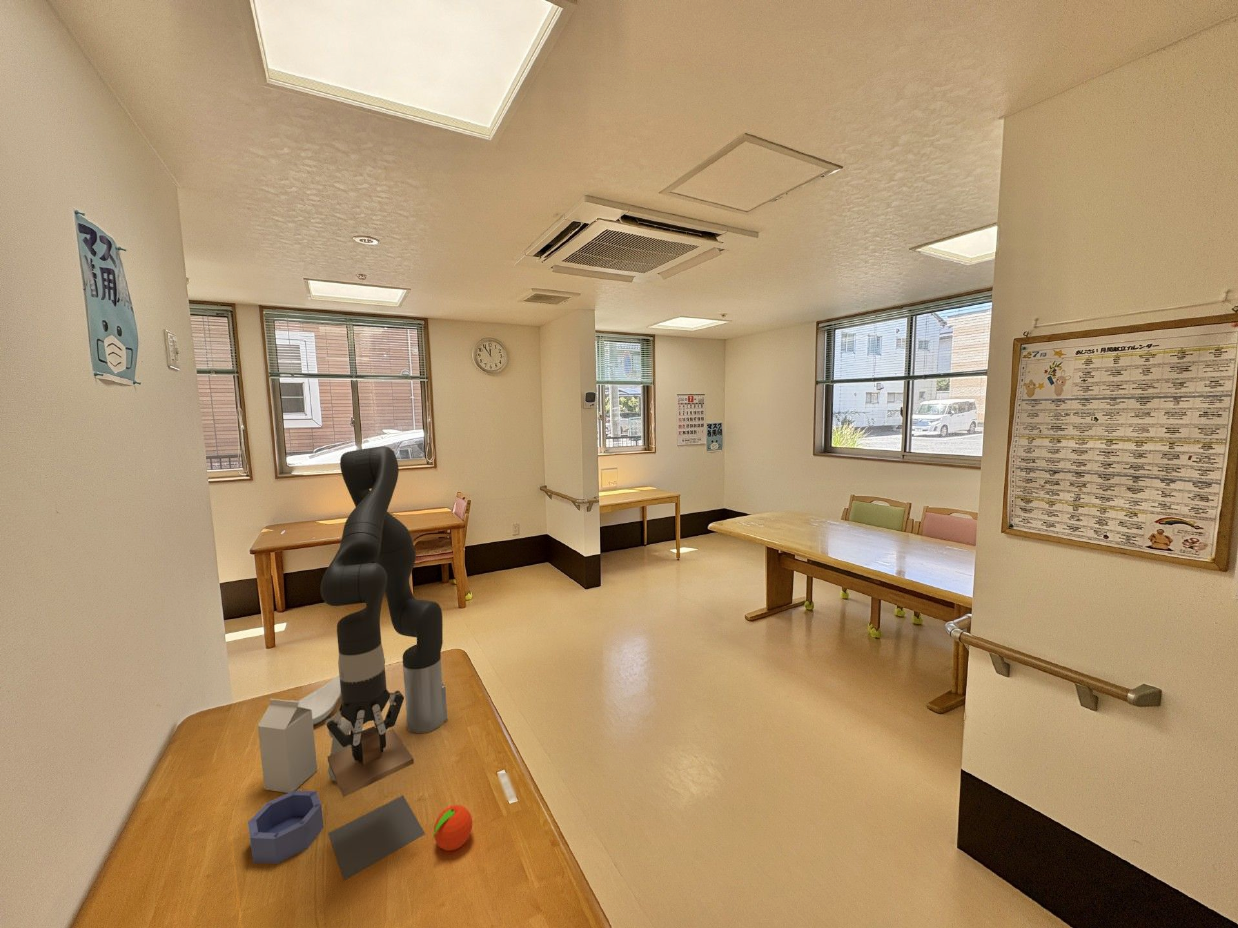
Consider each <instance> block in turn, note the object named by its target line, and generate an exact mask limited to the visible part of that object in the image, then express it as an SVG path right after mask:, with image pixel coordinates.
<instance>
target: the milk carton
mask: <svg viewBox="0 0 1238 928" xmlns="http://www.w3.org/2000/svg"><path fill="white" fill-rule="evenodd" d="M298 704H299V700H293V699H290V700H286V699H284V700H283V699H277V698H270V699H269V705H268V707H267V709H266V710H265V713H264V714H263V716H262V718H261V719H260V721H259V723H258V725H257V732H258V740H259V750H260V759H261V768H262V770H261V771H262V777H263V787H264V790H267V791H271V792H272V791H273V792H278V793H285V794H288V793H290V792H292V791H294V790H298V788H299V787H301V785H303V784H304V783H305V782H306V781H307V780H308V779H310V777H312V775H314V774H315V773H316V772H317V771H318V761H317V752H316V743H315V733H314V730H315V729H314V725H313V718H312V710H310V709H306V708H302V707H298Z"/></svg>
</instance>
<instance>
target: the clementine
mask: <svg viewBox="0 0 1238 928" xmlns="http://www.w3.org/2000/svg"><path fill="white" fill-rule="evenodd" d="M472 829H473V817H472V814H471V813H470V811H469V809H467V808H466V806H463V805H461V804H454V805H450V806H448V807H446V808H444V809H443V810H442V811H441V813H440V814H439V815H438V817H437V819H436V821H435V823H434V827H433V836H432V841H435V843H436V844H437V846H438V848H441V849H443V850H444V851H448V852H450V851H455V850H458V849H460V848H461V847H463V846H464V845H465V843H466V842H467V841H468V840H469V838H470V835H471V833H472Z"/></svg>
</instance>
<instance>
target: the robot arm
mask: <svg viewBox="0 0 1238 928" xmlns="http://www.w3.org/2000/svg"><path fill="white" fill-rule="evenodd" d="M339 465H340V467H339V468H340V472H341V476H342V479H343V482H344V484H345V486H346V488H347V492H348V493H349V496H350V497H351V499H352V502H353V503H354V509H353V510H352V511H351V512H350V513H349V515H348V517H347V518H346V521H345V523H344V526H343V530H342V534H341V540H340V545H339V549H338V550H337V552H336V553H335V556H334V557H333V559H332V561H331V562H330V564H329V566H328V567H327V569H326V570H325V573H324V574H323V577H322V579H321V583H320V590H319V592H320V596H321V598H322V599H323V602H324V603H326V604H327V605H328V606H331V607H340V606H341V607H342V606H349V605H359V604H365V607H364V608H363V609H360V610H358V611H355V612H353V613H349V614H347V615H345V616H343V617H342V618H340V619H339V620H338V622H337V624H336V636H337V646H338V647H337V648H338V661H337V662H338V663H337V665H338V674H339V675H338V676H339V678H340V688H341V694H340V696H341V697H340V698H341V699H340V700H341V703H340V707H339V708H338V709H339V710H338V712H336V713H335V714H334V715H332V716H327V717H326V718H325V719H324V724H325V726H326V728H327V730H328V732H329V731H330V732H331V733H332V734H333V736H334V737H335V738H336V739H337V740H338V742H339V743H340V744H341V745H342V747H346V746H348V745H351V748H352V756H353V758H354V760H355V761H357V760H358V762H362V761H363V756H362V745H361V742H360V738H361V732H362V731H363V725H365V724H367V723H368V722H372V721H373V724H374V726H375V728H376V729H377V731H378V732H379V739H380V751H381V753H382V752H383V748H385V747H386V734H385V733H386V731H388V729H389V728H393V727H395V726H396V723H397V720H398V717H399V714H400V711H401V709H402V706H403V703H404V700H405V712H406V724H407V725H406V727H407V730H408V731H409V732H410V733H413V734H424V733H429V732H431V731H434V730H436V729H438V728H439V727H440V726H441V725H442V724H443V723H444V722H446V721H448V706H447V705H448V704H447V689H446V685H445V684H444V682H443V669H442V656H441V655H442V653H441V652H442V647H443V643H444V641H443V637H444V636H443V635H444V633H443V628H444V627H443V625H444V624H443V611H442V607H441V606H440V604H439V603H438V602H436V601H432V600H424V599H417V598H415V596H414V594H413V592H412V588H411V584H410V578H411V574H412V572H413V569H414V566H415V563H416V558H417V553H416V549H415V545H414V542H413V539H412V536H411V533H410V530H409V529H408V527H407V526H406V525H405V524H403V522H402V521H400V520H399V519H398V518H396V517H395V516H394V515H392V513H390V512H388V509H389V506H390V503H391V501H392V499H393V495H394V493H395V489H396V486H397V482H398V479H399V471H400V470H399V463H398V458H397V456H396V454H395V452H394V450H393V449H392V448H391V447H389V446H374V447H367V448H362V449H361V448H360V449H356V450H350V451H347V452H344V453H343V454H342V455H341V457H340V459H339ZM384 596H385V597H386V601H387V607H388V611H389V616H390V617H389V618H390V621H391V625H392V627H393V630H395V632H396V633H397V634H399V635H401V636H404V637H409V638H411V637H412V638H416V644H413V645H411V646H410V647H408V648H407V649H405V650H404V652H403V654H402V671H403V673H402V674H403V683H404V686H403V687H404V695H403V694H402V692H401V691H400V690H395V691H394V692H389V691H388V689H387V677H386V667H385V665H386V659H385V652H384V649H383V645H382V644H383V643H382V635H381V634H382V633H381V611H382V606H383V605H382V604H383V600H384ZM387 703H389V707H388V710H387V712H386V716H385V718H383V714H382V713H383V711H384V709H385V708H386V705H387ZM341 719H346V720H348V721H349V722H350V728H351V729H350V732H349V735H345V733H344V732H343V731H342V730H341V728H340V726H341Z"/></svg>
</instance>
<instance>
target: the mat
mask: <svg viewBox="0 0 1238 928" xmlns="http://www.w3.org/2000/svg"><path fill="white" fill-rule="evenodd" d="M425 835H426V832H425V831H424V829H423V828H422V825H421V823H419V820H418V819H417V817H416V815H415V814H414V812H413V810H412V808H411V806H410V804H409V803H408V801H407V800H406V798H405V796H404V795H403V794H402V795H400V796H398V797H396V798H395V799H393V800H391V801H389V802H386V803H385V804H383V805H380V806H379V807H377V808H375V809H373V810H370V811H369V812H368V813H365V814H363V815H361V816H359V817H357V818H356V819H354V820H351V821H350V822H348V823H346V824H344V825H342V826H341V825H340V826H339V827H337V828H336V829H334V830H332V831H330V832H328V837H329V840H330V842H331V845H332V846H331V847H332V849H333V852H334V855H335V857H336V860H337V865H338V866H339V870H340V873H341V876H342V878H343V881H346V880H347V879H350V878H351V877H353V876H355V875H357V874H358V873H360V872H362V871H363V870H365V869H367V868H368V867H370V866H372V865H373V864H376V863H377V862H379V861H381V860H383V859H385V858H386V857H388V856H389V855H391V854H393V853H394V852H396V851H398V850H400V849H402V848H403V847H405V846H407V845H408V844H410V843H412V842H414V841H415V840H418V839H419V838H421V837H423V836H425Z"/></svg>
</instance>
